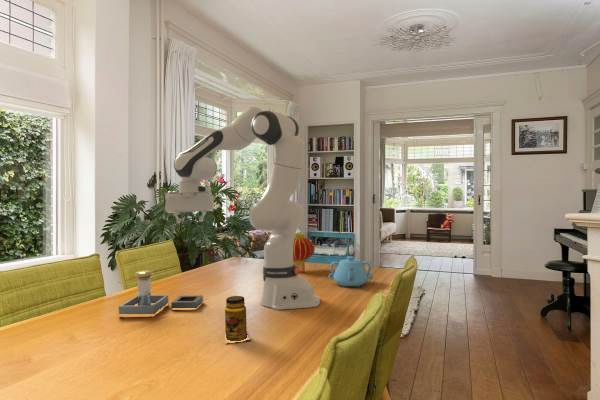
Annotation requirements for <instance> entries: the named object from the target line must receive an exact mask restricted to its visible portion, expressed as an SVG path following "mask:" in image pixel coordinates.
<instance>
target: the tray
mask: <svg viewBox="0 0 600 400" xmlns="http://www.w3.org/2000/svg"><path fill="white" fill-rule="evenodd" d="M137 303H138V294H137V295H135V296H134V297H132V298H130V299H128V300H127V301H126V302H124V303H122V304H120V305H119V306H118V315H119V314H155V313H156V312H157V311H158V310H159V309H161V308H162V307H163V306H165V305H166V304H167V303H168V304H169V294H151V303H155V304H153V305H139V306H134V305H135V304H137Z"/></svg>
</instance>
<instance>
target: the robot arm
mask: <svg viewBox="0 0 600 400" xmlns="http://www.w3.org/2000/svg"><path fill="white" fill-rule="evenodd" d="M299 132H300V127H299V124H298V122H297V121H296V120H295V119H294V118H293V117H291V116H288V115H285V114H284V113H283V114H282V113H281V112H275V111H271V110H262V109H261V108H260V107H257V106H252V107H250V108H248V109H246V110H244V111H243V112H242V113H240V114H239V115H238V116H236V118H235V119H233V120H232V121H231V122H230V123H229V124H227V125H225V126H224V127H222V128H220V129H218V130H215V131H213V132H211V133H209V134H207V135H206V136H205V137H203V138H202V139H201V140H200V141H198V142H197V143H195V144H194V145H193V146H191V147H190V148H188V149H186V150H185V151H182V152H179V154H177V156H175V159H174V161H173V168H174V171H175V173H176V174H177V175H178V177H179V181H178V190H174V191H173V190H171V191H170V190H169V191H168V192H166V193H165V195H164V199H165V206H164V211H165V212H166V213H169V214H171V213H172V214H173V216H174V217H175V219H176V223H177V224H180V223H182V219H181V218H180V217H179V213H193V212H194V213H195V212H201V213H202V215H201V216H200V217H199V216H198V222H199V223H201V222H204V217H205V215H206V214H207V212H212V211H214V209H215V203H214V198H213V196H212V190H211V189H210V188H209V187H208V186H203V185H201V181H209V180H212V179H214V177H215V176H216V175H217V172H218V171H217V170H218V167H217V162H216V161H215V160H214V159H212V158H211V157H207V156H208V155H210V154H211V153H215V152H218V151H241V150H244V149H246V148H248V147H249V146H250V145H251V144H252V143H253V142H254V141H255V140H257V138H258V139H259V140H261V141H262V142H264V143H266V144H267V145H269V146H273V147H274V150H275V152H274V158H273V163H272V167H271V172H270V177H269V181H268V183H267V186H266V188H265V189H264V192H263V193H262V195H261V197H260V198H259V200H257V202H256V203H255V204H253V205H251V207H250V210H249V212H248V213H249V214H248V220H249V222H250V225H251V226H252V227H253V228H254V229H255V230H259V231H265V232H269V231H271V233H270V236H269V238H268V240H267V241H266V242H265V243H264V246H263V260H264V261H263V264H264V265H263V267H262V279H263V287H262V288H263V289H262V295H261V300H260V304H261V305H262V306H264V307H268V308H271V309H274V310H279V311H281V310H292V309H295V310H296V309H303V308H304V309H305V308H306V309H308V308H316V307H318V306H319V305H320V304H321V299H320V296H318V295H316V294H315V292H314V288H313V286H312V284H311V283H310V282H309V281H308V280H306V279H305V278H303V276H301V275H300V272H301V269H300V267H299V265H293V244H294V239H295V235H296V233H297V232H298V230H299V226H300V224H301V223H302V222H303V220H304V217H305V211H304V207H303V206H302V205H301V203H300V202H297V201H294V200H290V199H291V197H292V196H293V194H294V193H296V191H297V190H298V189H299V186H300V182H301V178H302V177H301V176H302V173H303V172H302V171H303V168H304V164H305V163H304V162H305V154H306V153H305V152H306V151H305V150H306V149H305V148H306V147H305V146H306V144H305V142H304V140H303V139H302V138H301V137H300V136H299Z"/></svg>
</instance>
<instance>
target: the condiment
mask: <svg viewBox="0 0 600 400" xmlns="http://www.w3.org/2000/svg"><path fill="white" fill-rule="evenodd" d="M225 301H226V303H225V305H226V306H225V308H224V317H225V318H224V320H225V321H224V322H225V330H224V331H225V333H226V338H227V340H230V341H241V340H244V339H246V338H247V335H249V333H248V331H247V329H248V327H247V308H246V305H245V304H246V303H245V302H246V301H245V297H243V296H242V295H232V296H229V297H227V298H226V300H225ZM247 333H248V334H247Z"/></svg>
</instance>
